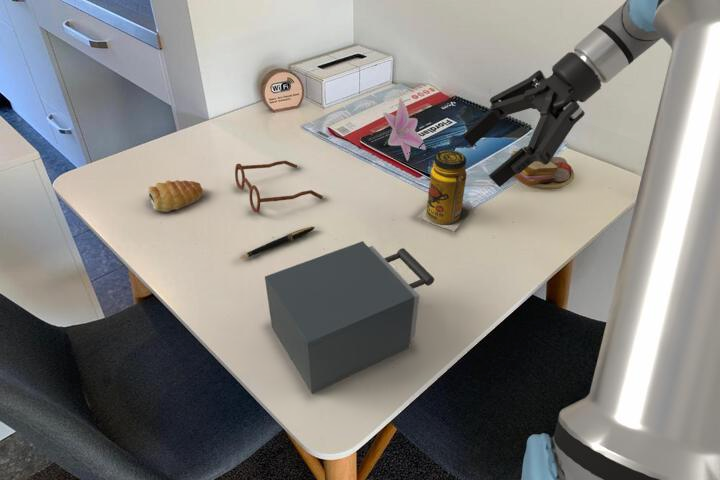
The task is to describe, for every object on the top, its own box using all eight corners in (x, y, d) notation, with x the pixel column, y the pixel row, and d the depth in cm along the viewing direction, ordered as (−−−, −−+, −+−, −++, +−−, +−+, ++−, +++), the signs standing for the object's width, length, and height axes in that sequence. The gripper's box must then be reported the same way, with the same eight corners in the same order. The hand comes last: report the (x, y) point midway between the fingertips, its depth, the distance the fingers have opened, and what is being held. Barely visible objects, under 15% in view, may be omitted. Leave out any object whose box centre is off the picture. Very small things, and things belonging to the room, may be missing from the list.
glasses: (234, 183, 101) (231, 160, 98) (297, 167, 106) (295, 145, 103) (257, 218, 92) (254, 195, 89) (324, 199, 97) (323, 176, 94)
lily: (377, 170, 107) (402, 138, 101) (355, 128, 112) (377, 95, 106) (420, 171, 115) (445, 141, 108) (397, 131, 119) (420, 100, 113)
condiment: (416, 218, 93) (422, 159, 85) (439, 196, 98) (446, 139, 91) (453, 232, 90) (462, 172, 82) (474, 209, 95) (485, 151, 88)
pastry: (196, 184, 101) (193, 167, 98) (209, 202, 96) (205, 184, 94) (147, 199, 97) (142, 181, 94) (157, 218, 92) (152, 200, 90)
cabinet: (361, 290, 78) (362, 240, 72) (409, 347, 70) (414, 296, 64) (271, 327, 73) (264, 276, 67) (311, 394, 64) (307, 343, 58)
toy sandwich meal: (585, 187, 101) (592, 166, 98) (522, 196, 99) (527, 175, 96) (552, 156, 111) (558, 136, 108) (493, 163, 108) (497, 143, 105)
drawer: (393, 276, 80) (396, 236, 75) (439, 325, 72) (445, 284, 67) (288, 319, 73) (283, 278, 68) (325, 378, 65) (323, 336, 60)
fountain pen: (240, 263, 83) (239, 256, 82) (237, 259, 84) (236, 252, 83) (317, 231, 90) (316, 224, 89) (313, 228, 90) (313, 221, 89)
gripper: (643, 118, 73) (520, 214, 81) (562, 56, 92) (469, 138, 100) (621, 83, 69) (493, 188, 77) (540, 26, 88) (445, 114, 96)
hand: (479, 160), depth 88 cm, fingers open, 13 cm apart
